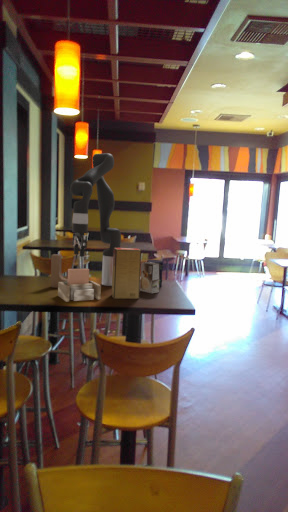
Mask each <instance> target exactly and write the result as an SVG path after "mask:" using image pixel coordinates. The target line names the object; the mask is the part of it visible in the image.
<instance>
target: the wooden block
mask: <svg viewBox="0 0 288 512" xmlns="http://www.w3.org/2000/svg"><path fill="white" fill-rule="evenodd" d="M62 257H63V256H62V254H59V253H57V254H56V253H53V254H51V257H50V259H51V260H50V288H53V289H54V288H55V289H58V282H68V278H65V277H64V276H63V274H62V264H63V263H62V259H63V258H62Z"/></svg>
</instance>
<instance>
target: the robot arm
mask: <svg viewBox="0 0 288 512" xmlns="http://www.w3.org/2000/svg"><path fill="white" fill-rule="evenodd" d="M91 160H92V168H90V169H89V170H87V171H86V172H85V173H84V174H83V175H82V176H80V177H78V178H77V179H75V180H74V181H73V182H72V183H71V185H70V193H71V194H72V195H73V196H75V197H82V198H81V200H77V201H74V203H73V211H72V213H73V214H72V224H71V225H72V226H71V227H72V228H71V231H72V233H73V234H72V244H71V245H72V246H73V254H74V255H75V256H76V255H79V257H81V258H82V257H85V251H86V250H85V249H86V248H88V236H87V235H85V234H86V233H88V231H89V229H88V228H89V227H88V226H89V204H90V200H91V197H92V194H93V189H94V188H93V187H94V186H96V192H97V195H96V196H97V197H96V198H97V205H98V210H99V211H98V213H99V225H100V226H99V228H100V230H99V232H100V240H101V242H102V243H103V244H108V245H109V247H108V248H107V249H104V250H103V251H102V263H101V264H102V268H101V286H105V287H106V286H107V287H112V274H113V251H114V248H121V243H122V242H121V241H122V233H121V230H120V229H118V228H115V227H114V228H113V227H110V218H111V217H112V216H111V215H112V213H113V211H114V210H115V206H116V205H115V195H114V192H113V190H112V188H111V187H110V186H109V184H108V183H107V181H106V180H105V177H104V175H106V174H107V173H109V172H110V171H111V170H113V168H114V165H115V159H114V156H113V154H111V153H108V152H106V153H104V152H103V153H95V154H93V156H92V159H91ZM95 184H96V185H95Z"/></svg>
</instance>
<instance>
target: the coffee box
mask: <svg viewBox="0 0 288 512" xmlns="http://www.w3.org/2000/svg"><path fill="white" fill-rule="evenodd" d="M159 277H160V264H158V263H152V262H147V261H144V262H141V266H140V286H139V292H143V293H148V294H157V293H159V291H160V287H159Z"/></svg>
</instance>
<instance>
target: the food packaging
mask: <svg viewBox="0 0 288 512" xmlns="http://www.w3.org/2000/svg"><path fill="white" fill-rule="evenodd" d="M141 260H142V250H141V249H140V248H138V247H137V248H135V247H134V248H133V247H130V248H129V247H120V248H114V251H113V274H112V286H111V296H112V299H114V300H121V299H122V300H128V299H129V300H139V299H140V285H141V263H142V261H141Z"/></svg>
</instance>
